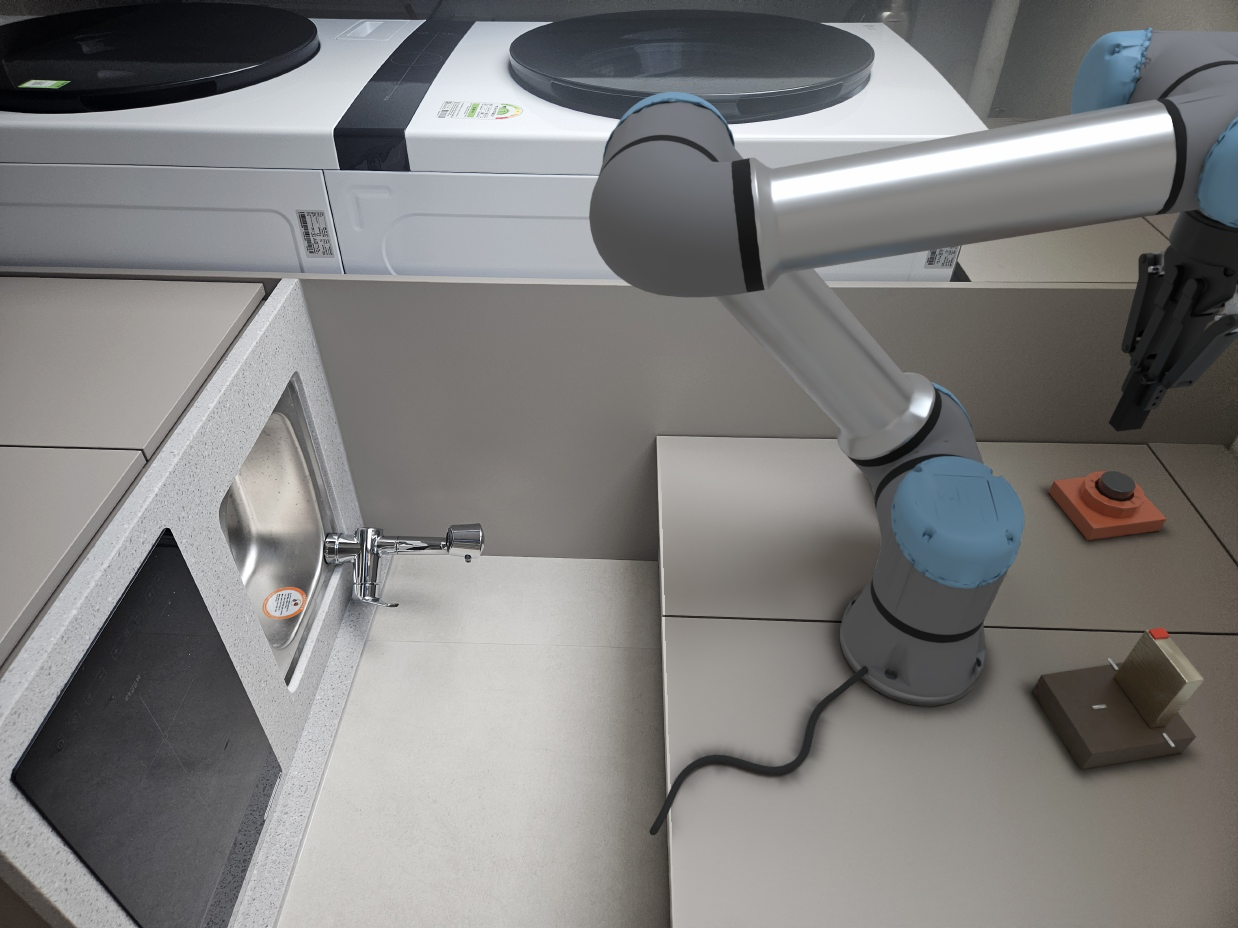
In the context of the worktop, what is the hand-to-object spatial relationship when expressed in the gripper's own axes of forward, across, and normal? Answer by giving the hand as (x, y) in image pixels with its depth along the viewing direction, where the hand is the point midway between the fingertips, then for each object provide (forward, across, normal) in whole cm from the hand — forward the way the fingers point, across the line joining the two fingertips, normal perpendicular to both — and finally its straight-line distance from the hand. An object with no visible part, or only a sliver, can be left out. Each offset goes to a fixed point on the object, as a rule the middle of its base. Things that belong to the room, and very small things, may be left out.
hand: (1124, 425), depth 84 cm
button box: (+22, +8, -12) cm, 27 cm away
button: (+19, +8, -12) cm, 24 cm away
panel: (+22, -20, +5) cm, 30 cm away
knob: (+19, -20, +3) cm, 28 cm away
